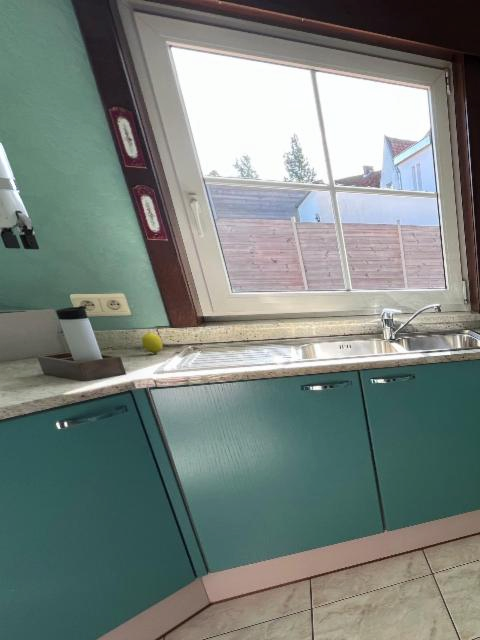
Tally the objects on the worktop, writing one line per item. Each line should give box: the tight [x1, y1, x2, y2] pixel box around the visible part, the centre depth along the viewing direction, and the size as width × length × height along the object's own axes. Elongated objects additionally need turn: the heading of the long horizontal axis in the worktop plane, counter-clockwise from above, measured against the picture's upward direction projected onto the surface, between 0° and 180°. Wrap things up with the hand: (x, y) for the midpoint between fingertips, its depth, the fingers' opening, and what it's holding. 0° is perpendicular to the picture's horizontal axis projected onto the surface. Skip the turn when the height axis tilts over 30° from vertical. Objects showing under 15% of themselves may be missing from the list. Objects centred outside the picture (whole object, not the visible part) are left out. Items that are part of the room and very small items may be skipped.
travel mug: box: [55, 305, 103, 362], centre depth 149 cm, size 6×7×20 cm
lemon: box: [141, 332, 163, 355], centre depth 183 cm, size 6×6×8 cm
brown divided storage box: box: [36, 351, 127, 382], centre depth 153 cm, size 11×20×6 cm, turn 71°
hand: (22, 248), depth 150 cm, fingers open, 9 cm apart
